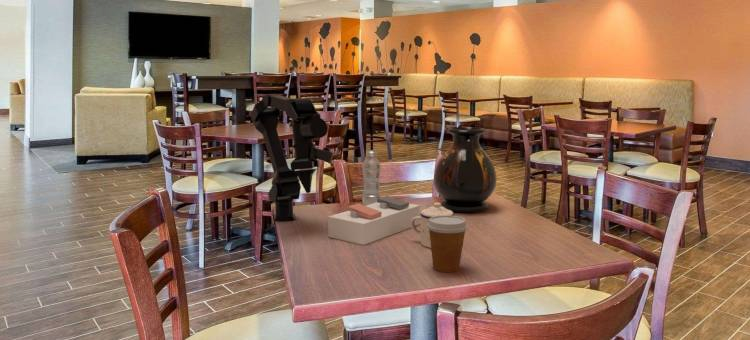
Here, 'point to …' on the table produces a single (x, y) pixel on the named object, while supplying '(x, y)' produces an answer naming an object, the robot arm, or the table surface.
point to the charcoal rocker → (393, 202)
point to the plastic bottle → (371, 178)
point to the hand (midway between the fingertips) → (308, 192)
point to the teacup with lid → (425, 216)
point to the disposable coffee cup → (446, 241)
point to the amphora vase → (465, 172)
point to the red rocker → (365, 211)
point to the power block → (372, 223)
